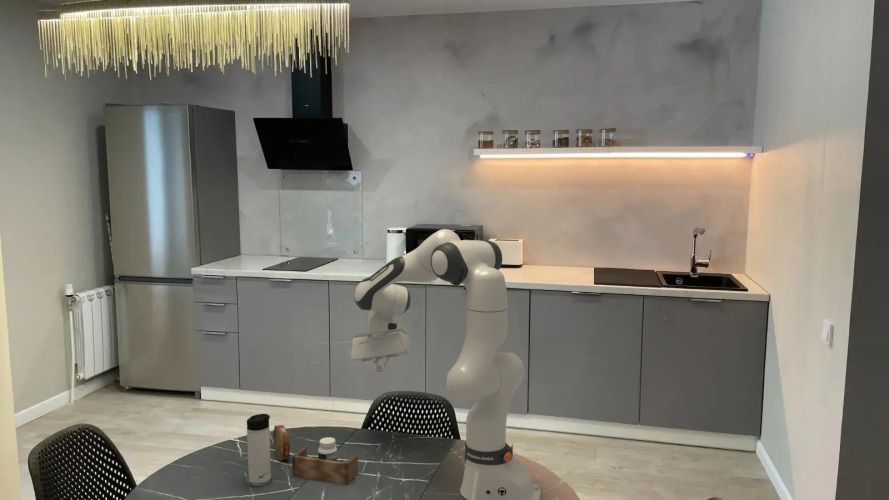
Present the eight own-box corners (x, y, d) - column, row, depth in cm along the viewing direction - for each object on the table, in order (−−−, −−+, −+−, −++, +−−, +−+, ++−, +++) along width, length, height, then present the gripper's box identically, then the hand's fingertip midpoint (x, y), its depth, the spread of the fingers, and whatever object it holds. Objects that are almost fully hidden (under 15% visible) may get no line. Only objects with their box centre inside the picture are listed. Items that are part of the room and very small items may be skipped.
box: (358, 473, 190) (357, 454, 190) (347, 484, 184) (347, 464, 183) (304, 465, 196) (304, 446, 195) (292, 475, 189) (292, 456, 188)
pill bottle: (314, 471, 192) (314, 439, 191) (331, 465, 196) (331, 434, 195) (324, 478, 188) (323, 445, 187) (341, 472, 191) (340, 440, 190)
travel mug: (266, 487, 182) (263, 420, 180) (244, 485, 183) (242, 418, 181) (276, 477, 188) (273, 412, 186) (255, 475, 189) (253, 410, 187)
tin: (273, 446, 210) (272, 421, 209) (282, 444, 211) (281, 420, 210) (281, 465, 196) (280, 438, 195) (292, 463, 198) (291, 437, 197)
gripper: (348, 332, 211) (346, 373, 205) (404, 323, 204) (404, 365, 198) (357, 337, 216) (356, 378, 210) (412, 328, 210) (412, 370, 204)
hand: (380, 371), depth 204 cm, fingers closed
